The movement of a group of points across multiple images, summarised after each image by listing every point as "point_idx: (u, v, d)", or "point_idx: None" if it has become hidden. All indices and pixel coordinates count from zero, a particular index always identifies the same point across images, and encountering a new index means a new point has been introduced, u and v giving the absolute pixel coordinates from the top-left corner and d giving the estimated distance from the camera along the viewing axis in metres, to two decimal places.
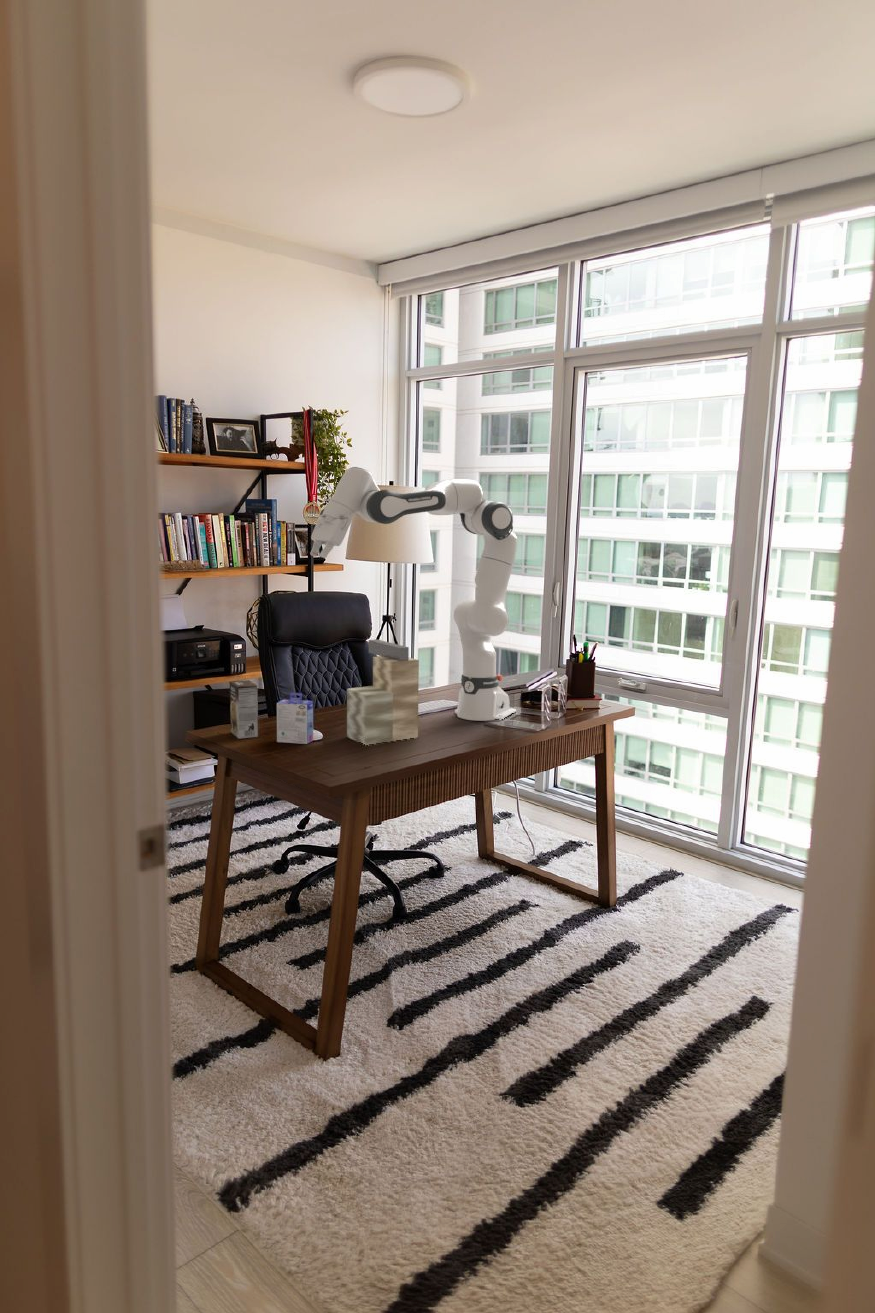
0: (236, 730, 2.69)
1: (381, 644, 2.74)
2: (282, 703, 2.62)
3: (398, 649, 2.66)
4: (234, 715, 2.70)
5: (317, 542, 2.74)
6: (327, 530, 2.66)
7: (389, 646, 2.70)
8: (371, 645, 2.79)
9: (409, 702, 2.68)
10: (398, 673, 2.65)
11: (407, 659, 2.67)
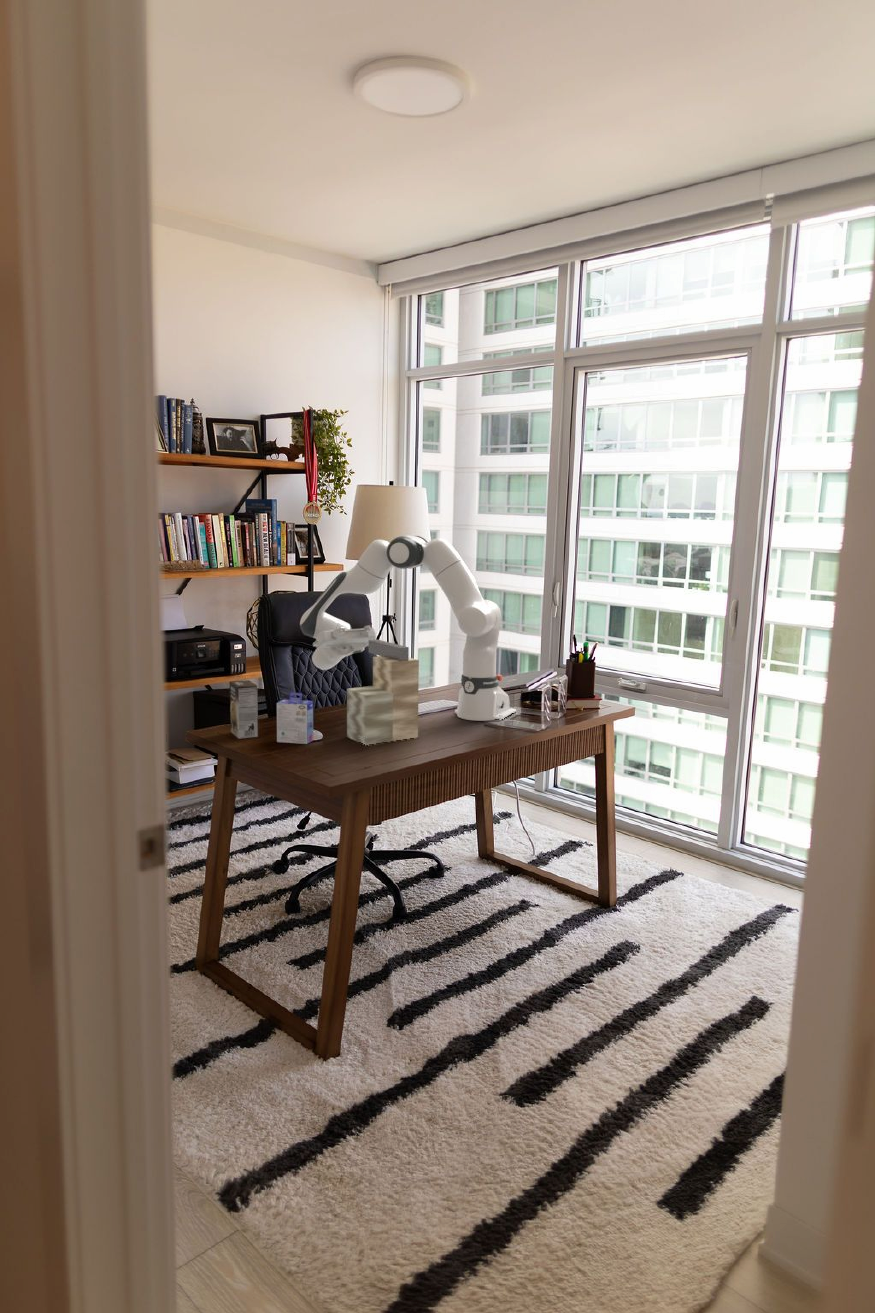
0: (236, 730, 2.69)
1: (381, 644, 2.74)
2: (282, 703, 2.62)
3: (398, 649, 2.66)
4: (234, 715, 2.70)
5: (364, 633, 2.96)
6: (339, 643, 2.94)
7: (389, 646, 2.70)
8: (371, 645, 2.79)
9: (409, 702, 2.68)
10: (398, 673, 2.65)
11: (407, 659, 2.67)
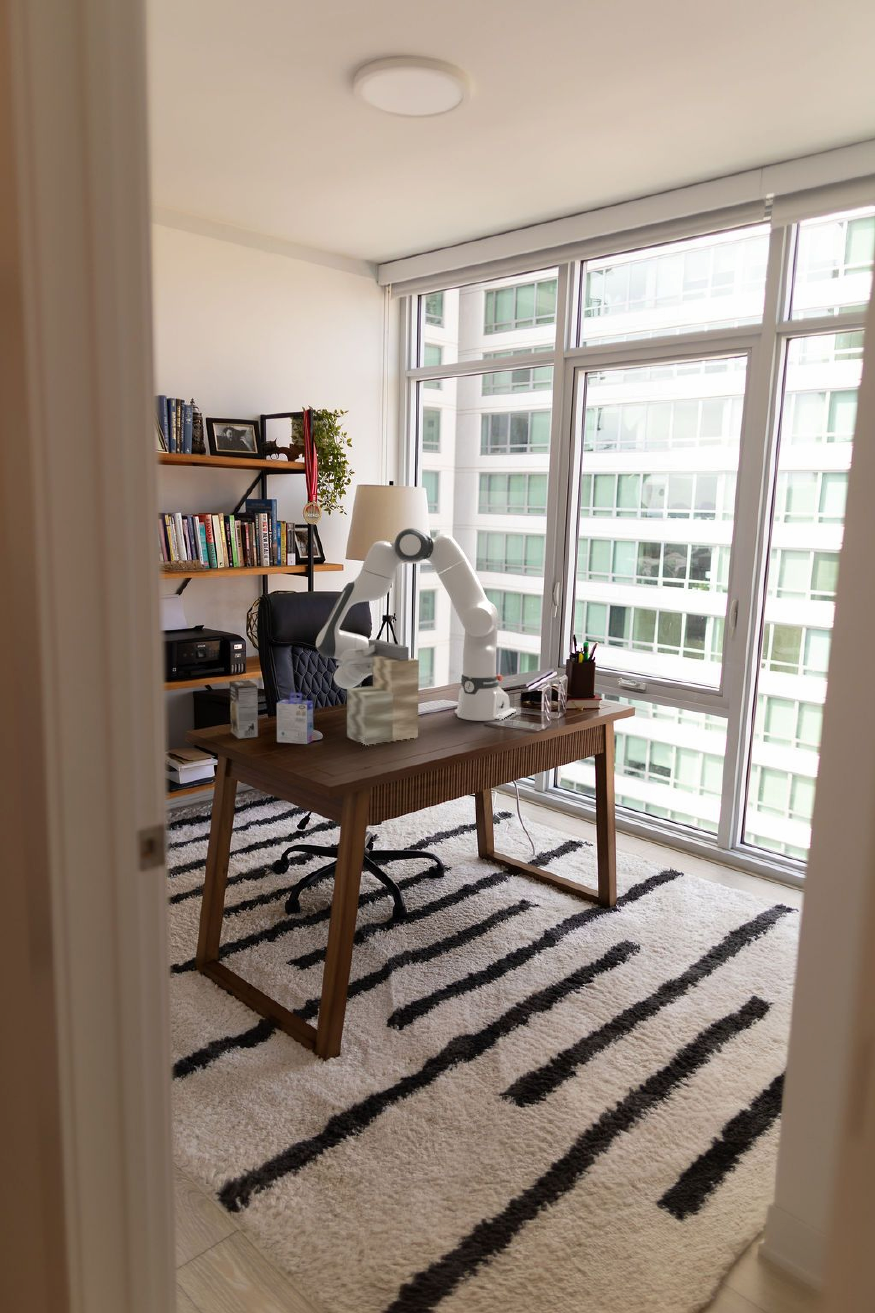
0: (236, 730, 2.69)
1: (381, 644, 2.74)
2: (282, 703, 2.62)
3: (398, 649, 2.66)
4: (234, 715, 2.70)
5: None
6: (363, 662, 2.82)
7: (389, 646, 2.70)
8: None
9: (409, 702, 2.68)
10: (398, 673, 2.65)
11: (407, 659, 2.67)
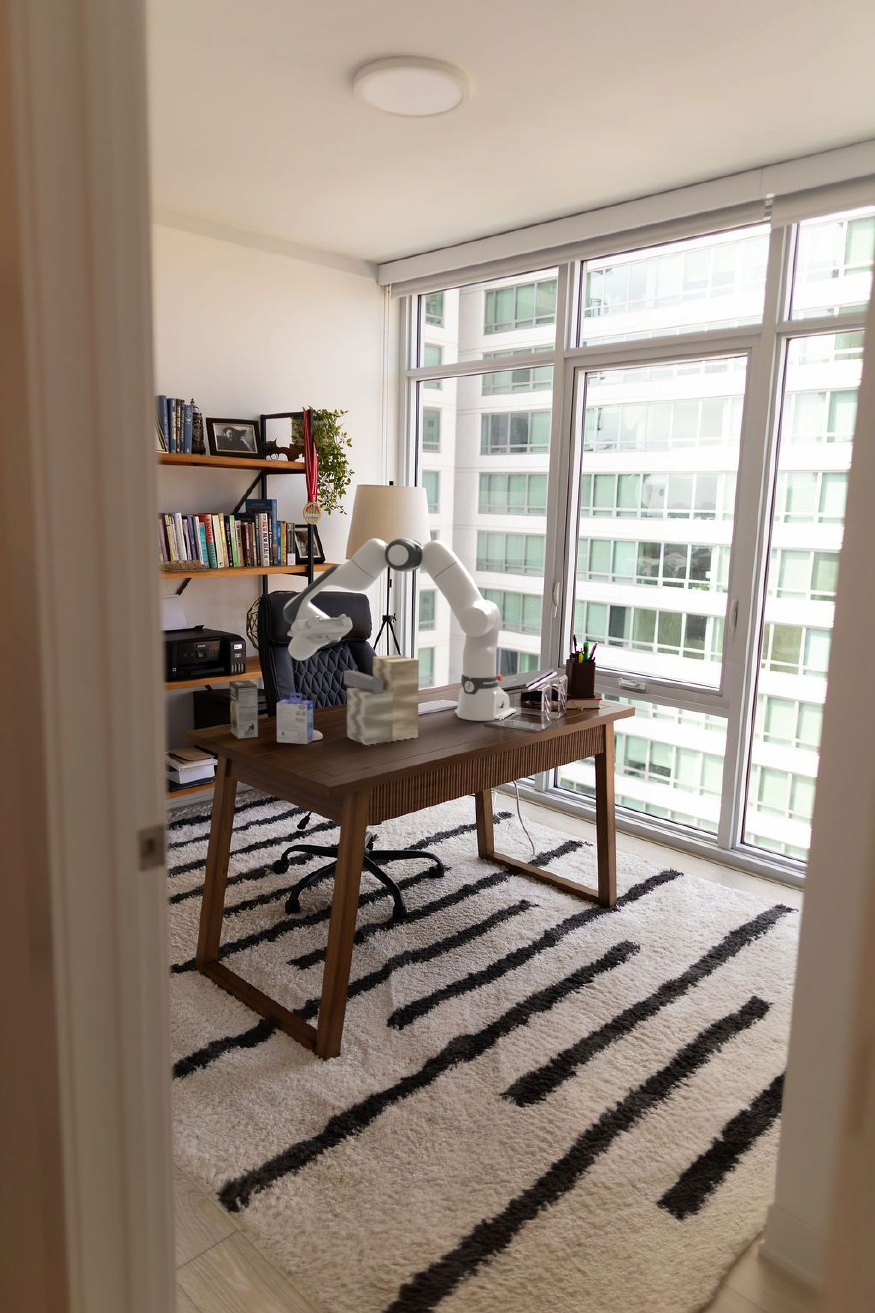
0: (236, 730, 2.69)
1: (356, 676, 2.70)
2: (282, 703, 2.62)
3: (372, 682, 2.62)
4: (234, 715, 2.70)
5: (340, 622, 2.91)
6: (314, 632, 2.89)
7: (364, 678, 2.66)
8: (346, 676, 2.75)
9: (409, 702, 2.68)
10: (398, 673, 2.65)
11: (381, 692, 2.63)
